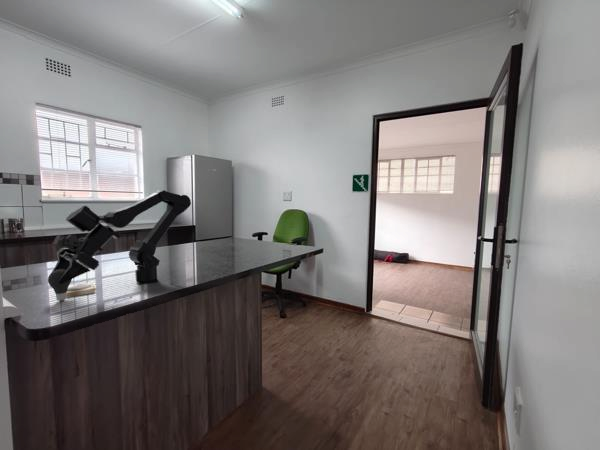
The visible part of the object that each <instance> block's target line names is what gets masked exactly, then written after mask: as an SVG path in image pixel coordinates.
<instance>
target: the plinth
mask: <svg viewBox="0 0 600 450" xmlns="http://www.w3.org/2000/svg"><path fill="white" fill-rule="evenodd" d="M95 293H96V288H95V284H94V282H86V283H80V284H73V285H69V286H68V289H67V293H66V294H67V298H71V297H77V296H82V295H89V294H95Z"/></svg>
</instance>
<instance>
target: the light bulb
mask: <svg viewBox="0 0 600 450" xmlns="http://www.w3.org/2000/svg"><path fill="white" fill-rule="evenodd" d="M52 271H53V270H52ZM52 271H51V272H50V274H49V275H48V277H47V282H48V285H49V286H50V287H51V288H52V289H53V292H54V294H55V298H56V299H55V300H56V301H59V302H60V303H61V302H64V301H65V300H67V298H68V297H67V294H66V293H67V289H68V286H70V284H71V283H72V279H71V280H69V281H67V282H65V283H63V284H59V283H58V281H59V279H60V278H61V276H62V275H63V274H64V273H65V271H66V270H64V269H58V270H55V271H53V272H52Z"/></svg>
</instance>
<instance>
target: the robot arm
mask: <svg viewBox="0 0 600 450" xmlns="http://www.w3.org/2000/svg"><path fill="white" fill-rule="evenodd" d="M160 203H165V204H167V205H166V210H165V212H164V213H163V214H162V216H161V217H160V218H159V220H158V221H156V224H155V225H154V226H153V227H152V228H151V230H150V231H149V233H148V234H147V235H146V237H145V238H144V239H143V240H138V239H137V240H135V241H134V243H133V245H132V246H131V247H130V248H129V252H128V256H129V259H130V261H132V262H133V263H134V265H135V266H136V270H135V272H134V275H135V282H137V284H138V285H143V284H151V283H155V282H159V279H158V271H157V270H158V269H157V267H159V265H160V259H158V258H157V257H156V256H155V254H156V251H157V245H158V243H159V242H160V240H162V238H163V237H164V236H165V234H166V232H167V231H168V230H169V229H170V227H171V226H172V224H173V223H174V222H175V220H176V219H177V217H178V216H180V215H181V214H182V213H184V212H186V211H187V210H188V208H189V207H190V206H191V204H192V202H191V199H190V197H189V196H188V195H186V194H177V193H173V192H169V191H166V190H161V189H160V190H156V191H155V192H153V193H151V194H150V195H148V196H146V197H144V198H141V199H140V200H138V201H136V202H134V203H132V204H130V205H127V206H124V207H121V208H117V209H114V210H111V211H108V212H107V213H106V214H105V215H97V214H96V213H95V212H94V211H92V210H91V208H89V206H87V205H83V206H81V207H80V208H78V209H76V210H75V211H72V212H71V213H70V214H69V215H68V216H67V217H66V219H65V221H66V222H68V223H69V224H71V225H72V226H73V227H75V228H77V229H78V230H79V231H81V232H82V233H83V232H89V233H88V234H86V236H85V237H83V236H82V237H79V239H78V235H74V234H68V235H67V236H66V235H63V234H62V235H61V234H57V235H56V236H55V238H54V241H53V243H52V245H55V246H58V247H61V248H59V249H58V250H57V251H56V258H57V262H56V264H55V266H54V267H53V269H52V271H51V273H52V272H53V271H55V270H58V269H64V270H66V271H65V273H64V274H63V275H62V276H61V278H60V279H59V281H58V283H59V284H63V283H65V282H67V281H69V280H71V279H75V278H78V277H79V276H81V275H84V274H87V273H88V272H91V271H96V269H97V268H98V267H99V265H100V263H99V260H98V259H96V258H94V256H95V255H96V254H97V253H98V252H102V251H103V250H104V248H103V247H104V246H105V245H106V244H107V243H108V242H109V240H111V239H112V238H113V239H118V240H119V239H121V237H120V231H119V230H114V229H113V228H118V229H123V228H126V226H128V225H129V224H131V222H133V221H134V220H135V218H137V216H138V215H140V214H142V213H144V212H146V211H147V210H149V209H151V208H153V207H155V206H157V205H158V204H160ZM103 224H105V225H106V226H105V225H103ZM71 281H72V280H71Z"/></svg>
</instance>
